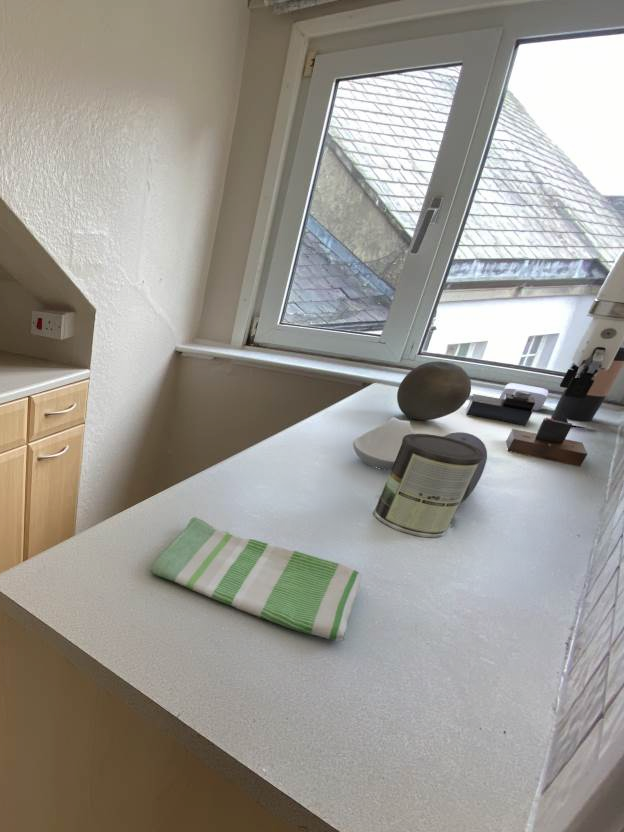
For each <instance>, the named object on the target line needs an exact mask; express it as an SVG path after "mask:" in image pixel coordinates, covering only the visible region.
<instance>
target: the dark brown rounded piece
mask: <svg viewBox="0 0 624 832" xmlns="http://www.w3.org/2000/svg"><path fill="white" fill-rule="evenodd" d="M471 381H472V380H471V378H470V376H469V374H468V373H467V371H465V370H464V368H462V367H461V366H459V365H457V364H455V363H452V362H446V361H442V360H441V361H439V360H438V361H437V360H436V361H429V362H428V361H427V362H426V363H422V364H419V365H418V366H415V368H413V369H411V370H410V371H409V372H408V373H407V374H406V375H405V376H404V378H403V379H402V380H401V382H400V384H399V386H398V389H397V392H396V393H397V394H396V399H397V400H396V401H397V406H398V408H399V410H400V411H401V413H402V414H403V415H405V416H406V417H408V418H410V419H412V420H417V421H431V420H432V421H433V420H437V419H440V418H443V417H447V416H448V415H451V414H453V413H455V412H457V411H458V410H460V409H461V407H463V405H464V404H465V403H466V402H467V401H468V399H469V397H470V395H471V393H472V382H471Z"/></svg>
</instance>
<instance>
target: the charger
mask: <svg viewBox="0 0 624 832" xmlns="http://www.w3.org/2000/svg"><path fill="white" fill-rule="evenodd" d="M515 390H522V391H528V392H530V396H529V397H531V398H534V400H535V405H534V406H533V408H532V411H541V410H542V408H543V407H544V405H545V403H546V401H547V399H548V396H549V392H550V391H549V390H548V389H547V388H543V387H537V386H533V385H526V384H522V383H521V384H520V383H516V382H515V383H514V382H509V383H507V384H505V387H504V388H503V390H502V392H501V394H500V396H499V399H503V398H504V396H505V393H507V394H514V392H515Z"/></svg>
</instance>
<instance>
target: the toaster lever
mask: <svg viewBox="0 0 624 832" xmlns="http://www.w3.org/2000/svg"><path fill="white" fill-rule="evenodd" d="M529 396H530V392H528V391H522V390H515V392H514V394H513V396H512V398H516V399H522V400H528V398H529Z"/></svg>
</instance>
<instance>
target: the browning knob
mask: <svg viewBox="0 0 624 832" xmlns="http://www.w3.org/2000/svg"><path fill="white" fill-rule="evenodd" d="M572 425H573V423H571V422H568V423H567V422H562V421H557V420H552V419H551V417H544V418H543V420H542V422H541V424H540V425H539V428H538V429H537V431H536V432H535V433H536V435H535V439H539V440H544V441H549V442H554V443H559V444H562V443H563V442H564V440H565V439H566V438H567V436H568V434H569V433H570V430H571V429H572V428H573V427H572Z"/></svg>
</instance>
